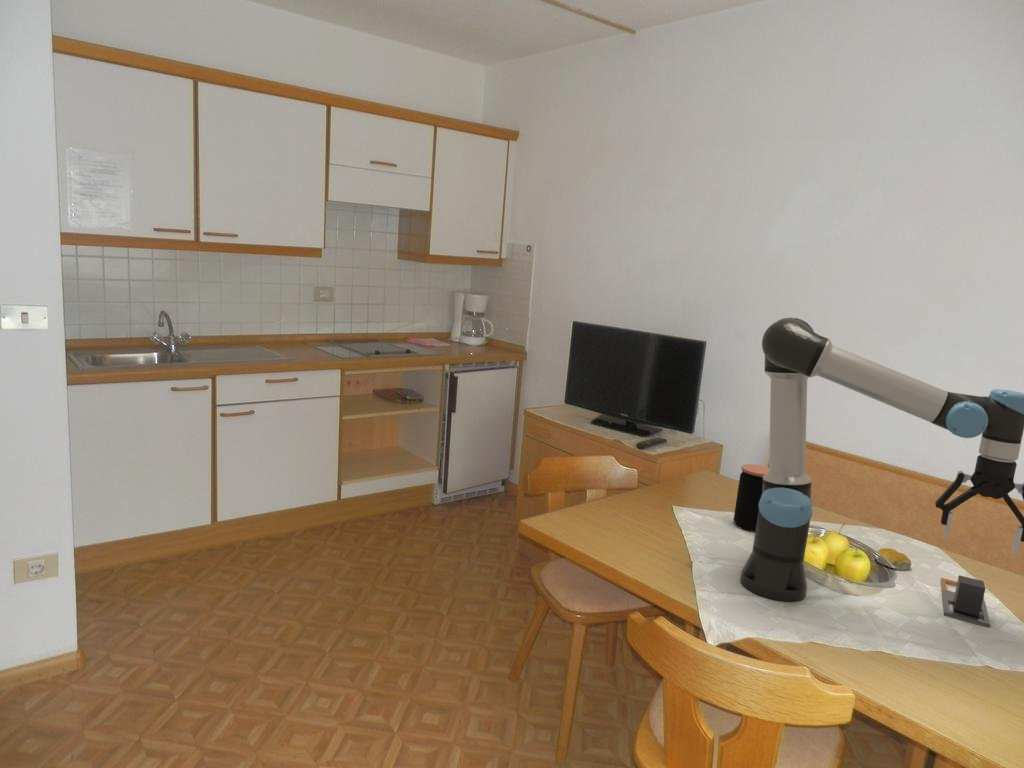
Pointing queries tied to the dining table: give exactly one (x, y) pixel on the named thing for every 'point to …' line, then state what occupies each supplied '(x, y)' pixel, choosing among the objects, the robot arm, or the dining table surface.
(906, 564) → the bread roll
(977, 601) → the block
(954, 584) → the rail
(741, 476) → the coffee jar
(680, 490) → the dining table surface
